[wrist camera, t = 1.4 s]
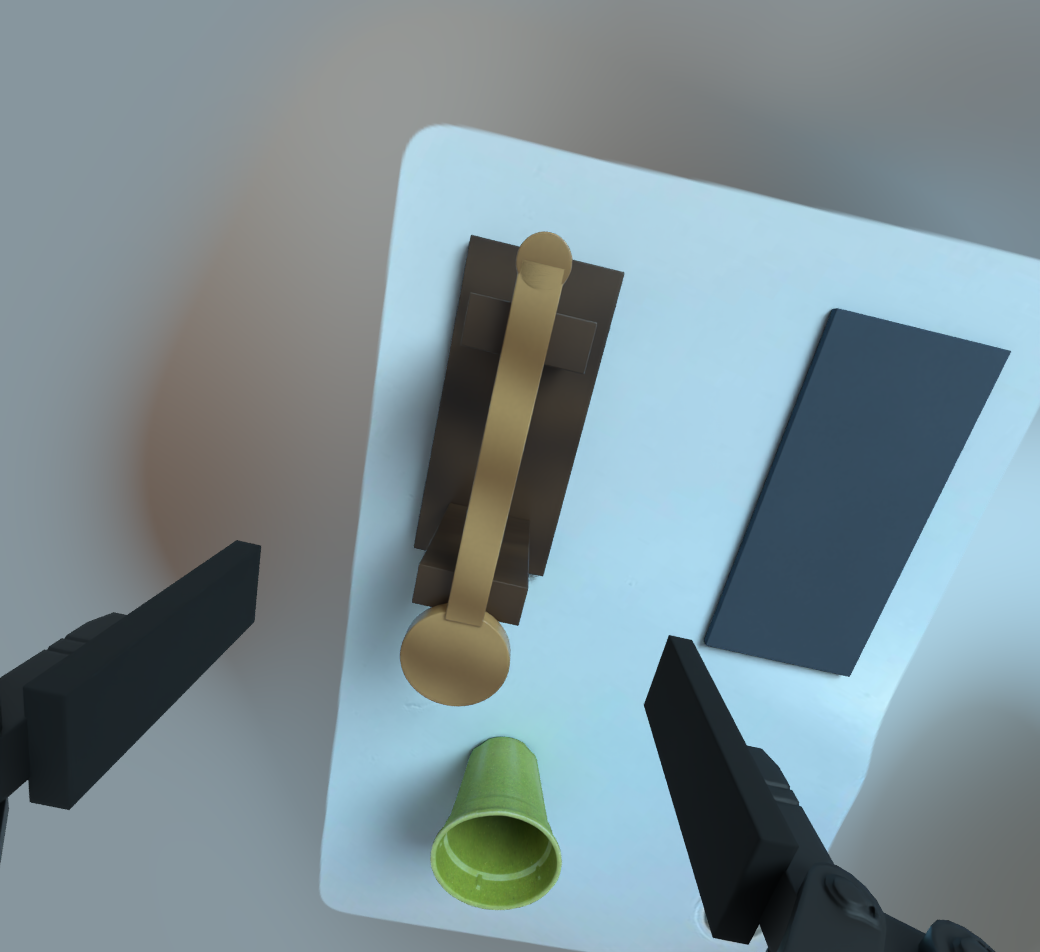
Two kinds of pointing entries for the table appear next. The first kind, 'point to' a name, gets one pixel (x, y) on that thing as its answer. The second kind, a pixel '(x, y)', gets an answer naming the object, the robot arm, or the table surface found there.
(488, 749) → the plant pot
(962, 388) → the mat
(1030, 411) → the table surface
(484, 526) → the ladle
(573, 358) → the rack
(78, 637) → the robot arm
